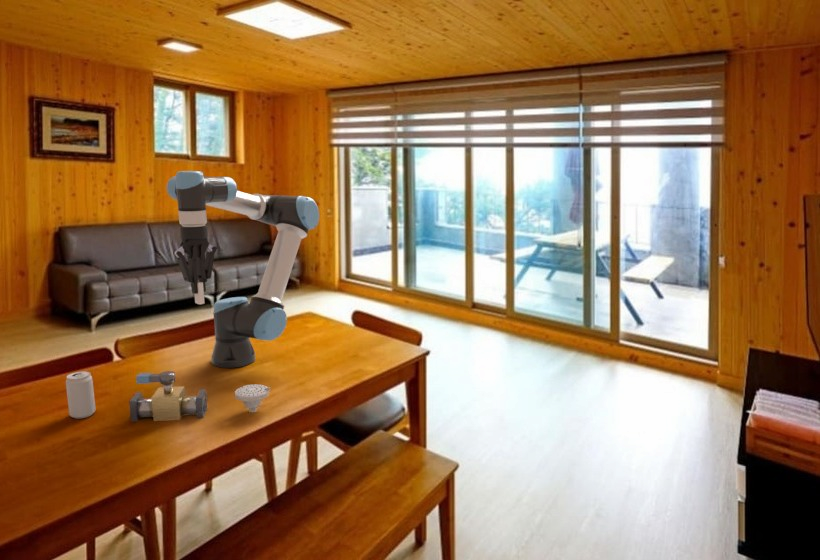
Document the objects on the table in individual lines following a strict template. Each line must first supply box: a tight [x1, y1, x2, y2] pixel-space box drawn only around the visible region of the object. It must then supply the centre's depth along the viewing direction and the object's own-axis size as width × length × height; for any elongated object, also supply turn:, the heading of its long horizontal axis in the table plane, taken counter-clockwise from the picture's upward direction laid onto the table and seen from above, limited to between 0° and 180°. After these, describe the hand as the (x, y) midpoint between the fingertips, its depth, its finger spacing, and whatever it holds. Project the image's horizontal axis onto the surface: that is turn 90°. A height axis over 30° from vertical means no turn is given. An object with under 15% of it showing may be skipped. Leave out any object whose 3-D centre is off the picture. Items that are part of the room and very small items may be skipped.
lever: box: [135, 370, 176, 385], centre depth 154 cm, size 10×4×2 cm, turn 96°
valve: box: [151, 383, 186, 422], centre depth 155 cm, size 7×7×10 cm
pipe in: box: [180, 388, 208, 419], centre depth 157 cm, size 6×6×6 cm
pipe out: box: [128, 391, 153, 423], centre depth 154 cm, size 6×6×6 cm
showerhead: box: [234, 383, 271, 413], centre depth 159 cm, size 9×7×10 cm
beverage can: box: [65, 371, 97, 420], centre depth 154 cm, size 6×6×12 cm
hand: (199, 303), depth 165 cm, fingers closed
